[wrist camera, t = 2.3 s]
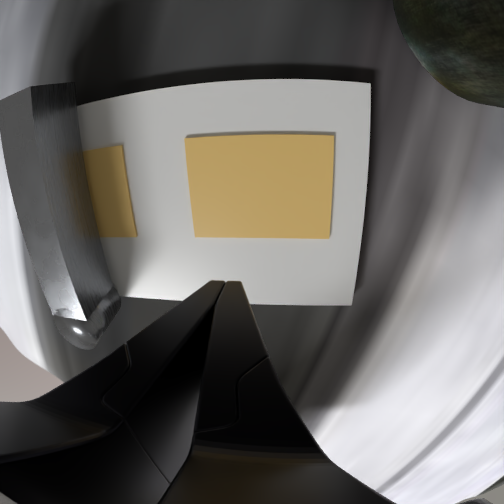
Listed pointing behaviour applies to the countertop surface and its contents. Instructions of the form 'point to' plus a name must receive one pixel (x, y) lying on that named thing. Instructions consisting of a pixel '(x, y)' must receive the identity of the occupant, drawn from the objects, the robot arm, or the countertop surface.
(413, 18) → the mug
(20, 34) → the countertop surface
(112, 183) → the label panel
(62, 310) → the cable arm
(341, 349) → the countertop surface
